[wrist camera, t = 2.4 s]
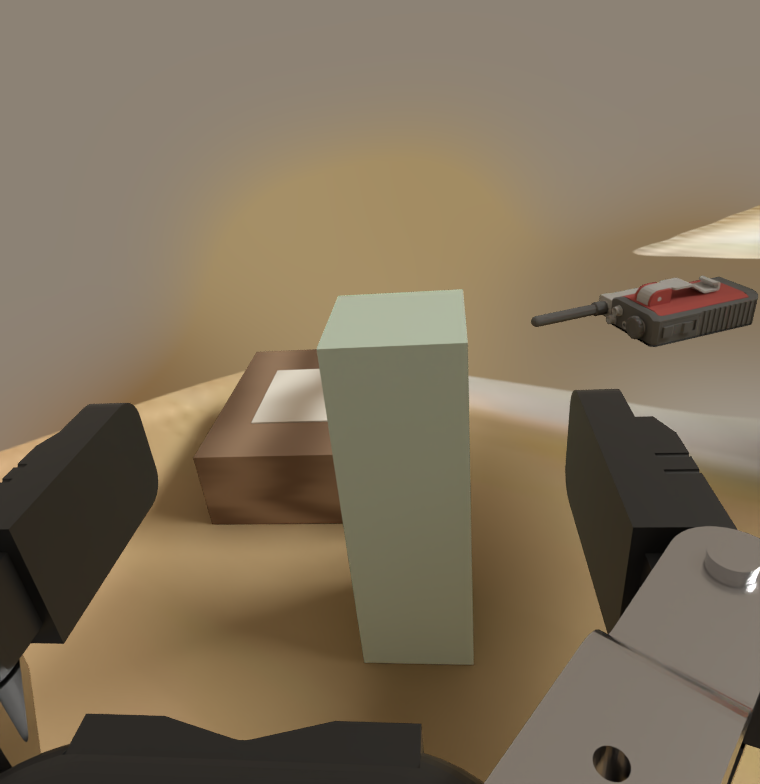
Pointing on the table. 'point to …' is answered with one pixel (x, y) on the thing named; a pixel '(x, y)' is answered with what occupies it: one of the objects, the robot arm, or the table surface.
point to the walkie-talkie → (669, 310)
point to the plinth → (271, 447)
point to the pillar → (403, 469)
